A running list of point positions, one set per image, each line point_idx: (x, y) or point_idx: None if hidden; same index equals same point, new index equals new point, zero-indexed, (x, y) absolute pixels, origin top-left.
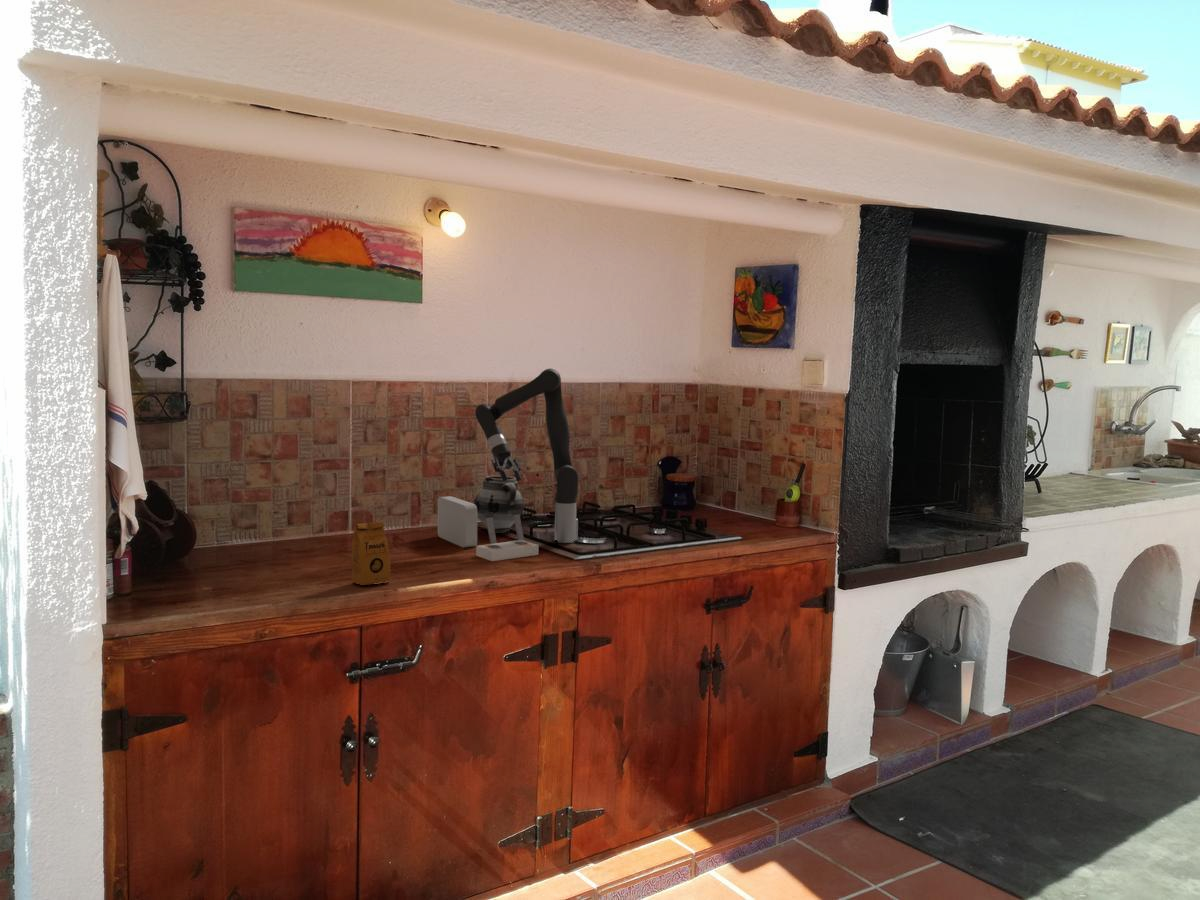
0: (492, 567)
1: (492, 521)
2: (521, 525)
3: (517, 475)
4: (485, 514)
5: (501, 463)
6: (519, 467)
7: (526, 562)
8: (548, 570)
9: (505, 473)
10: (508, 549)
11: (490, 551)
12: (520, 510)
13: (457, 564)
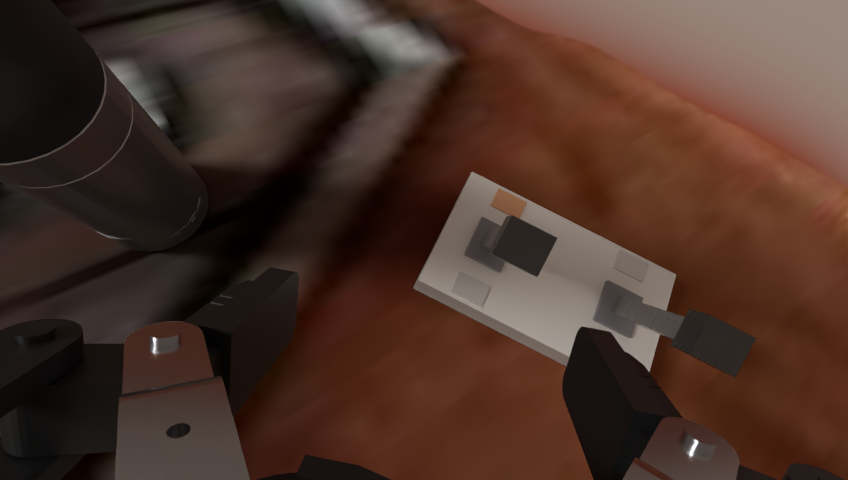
0: (712, 234)
1: (680, 315)
2: (497, 228)
3: (262, 332)
4: (740, 353)
5: None
6: (16, 364)
7: (587, 172)
8: (629, 73)
9: (627, 380)
10: (604, 239)
11: (670, 286)
12: (510, 215)
13: (764, 366)
